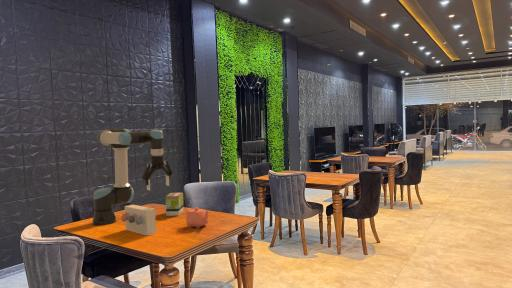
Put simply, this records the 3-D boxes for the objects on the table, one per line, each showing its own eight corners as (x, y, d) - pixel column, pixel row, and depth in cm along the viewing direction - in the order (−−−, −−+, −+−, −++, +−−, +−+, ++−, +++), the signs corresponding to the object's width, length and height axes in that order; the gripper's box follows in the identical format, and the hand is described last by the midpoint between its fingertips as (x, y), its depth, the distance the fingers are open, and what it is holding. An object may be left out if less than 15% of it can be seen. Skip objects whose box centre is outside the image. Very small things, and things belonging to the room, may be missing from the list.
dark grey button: (135, 224, 215) (135, 217, 214) (138, 223, 216) (138, 216, 216) (140, 225, 212) (139, 217, 212) (142, 224, 213) (142, 217, 213)
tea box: (179, 215, 261) (178, 195, 260) (165, 216, 261) (164, 196, 261) (184, 211, 276) (183, 191, 275) (171, 211, 276) (170, 192, 276)
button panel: (125, 229, 229) (124, 206, 228) (134, 227, 234) (133, 204, 233) (147, 235, 214) (146, 210, 213) (156, 233, 218) (154, 208, 218)
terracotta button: (121, 220, 225) (121, 213, 225) (124, 220, 226) (123, 213, 226) (125, 221, 222) (125, 214, 222) (127, 221, 223) (127, 214, 223)
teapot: (180, 227, 230) (179, 208, 229) (192, 222, 240) (191, 204, 239) (204, 230, 219) (203, 211, 219) (216, 225, 229) (215, 207, 229)
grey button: (128, 222, 220) (128, 215, 219) (131, 221, 221) (130, 214, 221) (132, 223, 217) (132, 216, 217) (135, 222, 218) (134, 215, 218)
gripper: (141, 158, 212) (143, 193, 216) (177, 153, 229) (178, 184, 233) (135, 156, 217) (137, 190, 221) (171, 151, 235) (171, 182, 238)
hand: (158, 187), depth 227 cm, fingers open, 13 cm apart
